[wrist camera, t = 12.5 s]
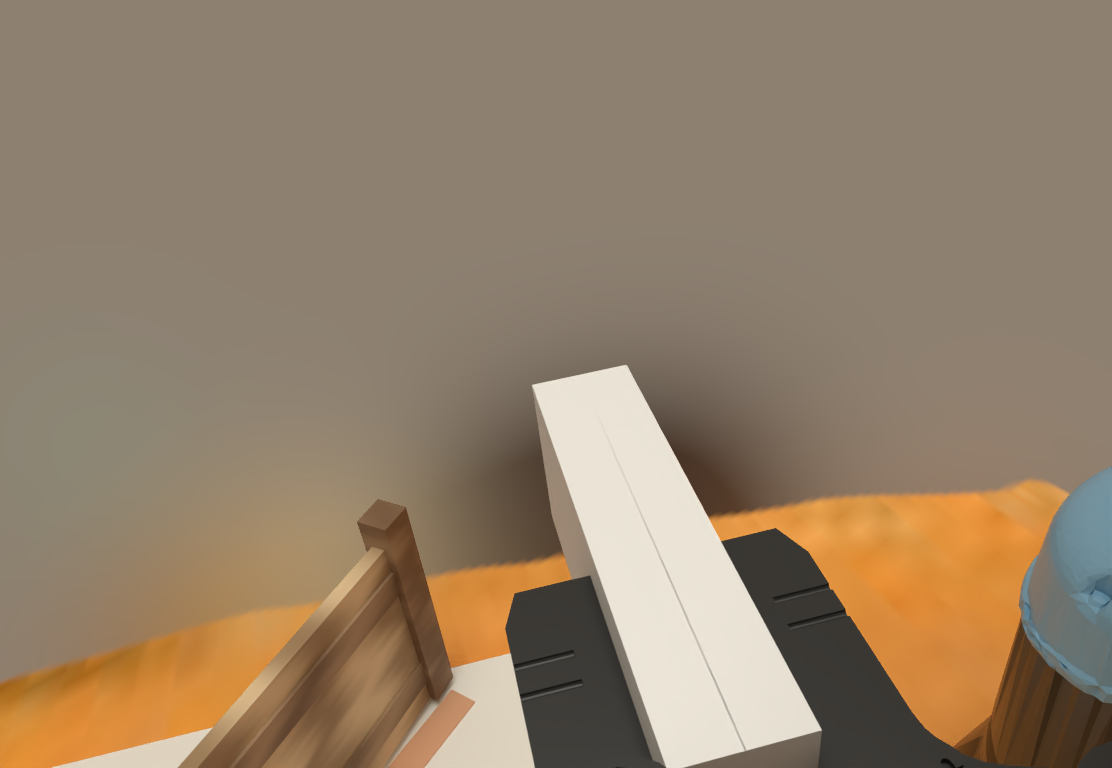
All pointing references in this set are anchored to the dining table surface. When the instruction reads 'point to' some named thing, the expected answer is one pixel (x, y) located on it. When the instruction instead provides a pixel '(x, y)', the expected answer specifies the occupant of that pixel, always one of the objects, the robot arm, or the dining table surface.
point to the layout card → (428, 746)
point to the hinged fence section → (344, 668)
